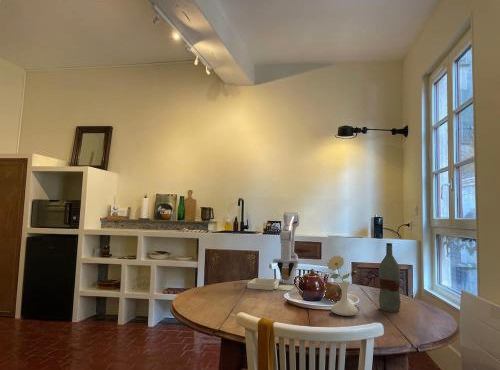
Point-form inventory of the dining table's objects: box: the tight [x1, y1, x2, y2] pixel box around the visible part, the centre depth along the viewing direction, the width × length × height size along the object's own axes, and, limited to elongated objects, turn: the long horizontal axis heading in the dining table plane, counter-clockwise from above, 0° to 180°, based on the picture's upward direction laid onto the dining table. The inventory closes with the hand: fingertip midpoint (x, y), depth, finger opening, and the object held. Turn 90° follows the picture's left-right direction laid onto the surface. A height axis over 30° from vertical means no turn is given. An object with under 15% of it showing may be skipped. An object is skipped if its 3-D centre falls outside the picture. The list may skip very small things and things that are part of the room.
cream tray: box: [246, 277, 280, 291], centre depth 212 cm, size 16×15×3 cm
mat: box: [275, 284, 295, 292], centre depth 208 cm, size 12×8×1 cm, turn 163°
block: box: [280, 268, 290, 281], centre depth 209 cm, size 4×4×6 cm
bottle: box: [378, 242, 401, 313], centre depth 167 cm, size 9×9×30 cm
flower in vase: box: [326, 255, 359, 317], centre depth 158 cm, size 13×11×25 cm
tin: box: [323, 281, 342, 302], centre depth 183 cm, size 15×3×8 cm, turn 25°
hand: (285, 275), depth 209 cm, fingers closed on block, 4 cm apart
